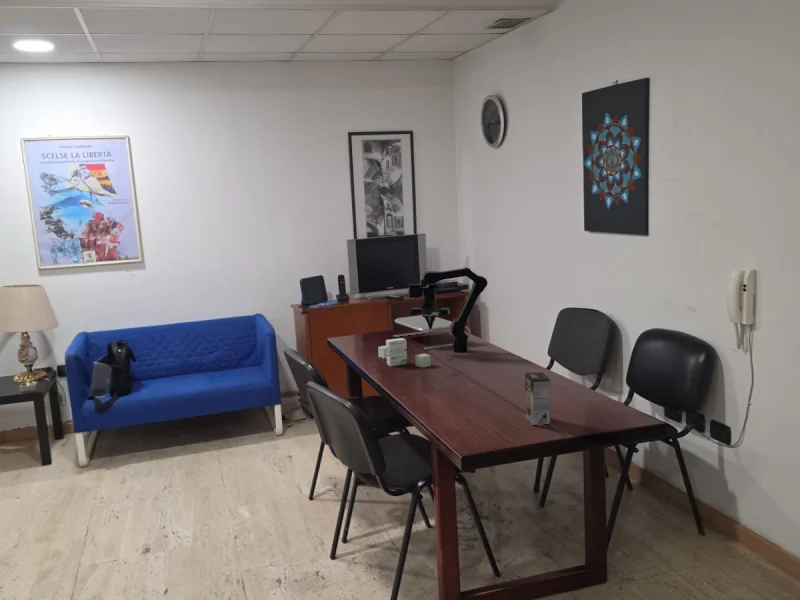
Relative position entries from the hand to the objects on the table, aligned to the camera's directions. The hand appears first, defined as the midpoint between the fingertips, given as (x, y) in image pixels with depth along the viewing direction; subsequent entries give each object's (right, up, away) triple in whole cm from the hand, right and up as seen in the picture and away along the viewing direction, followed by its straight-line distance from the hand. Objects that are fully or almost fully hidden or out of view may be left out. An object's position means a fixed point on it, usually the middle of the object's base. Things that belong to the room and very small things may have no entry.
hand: (430, 328), depth 341 cm
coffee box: (+32, -28, -102) cm, 111 cm away
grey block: (-22, -14, -3) cm, 26 cm away
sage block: (-4, -16, -22) cm, 28 cm away
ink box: (-16, -16, -18) cm, 29 cm away
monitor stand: (+1, -8, +30) cm, 31 cm away
